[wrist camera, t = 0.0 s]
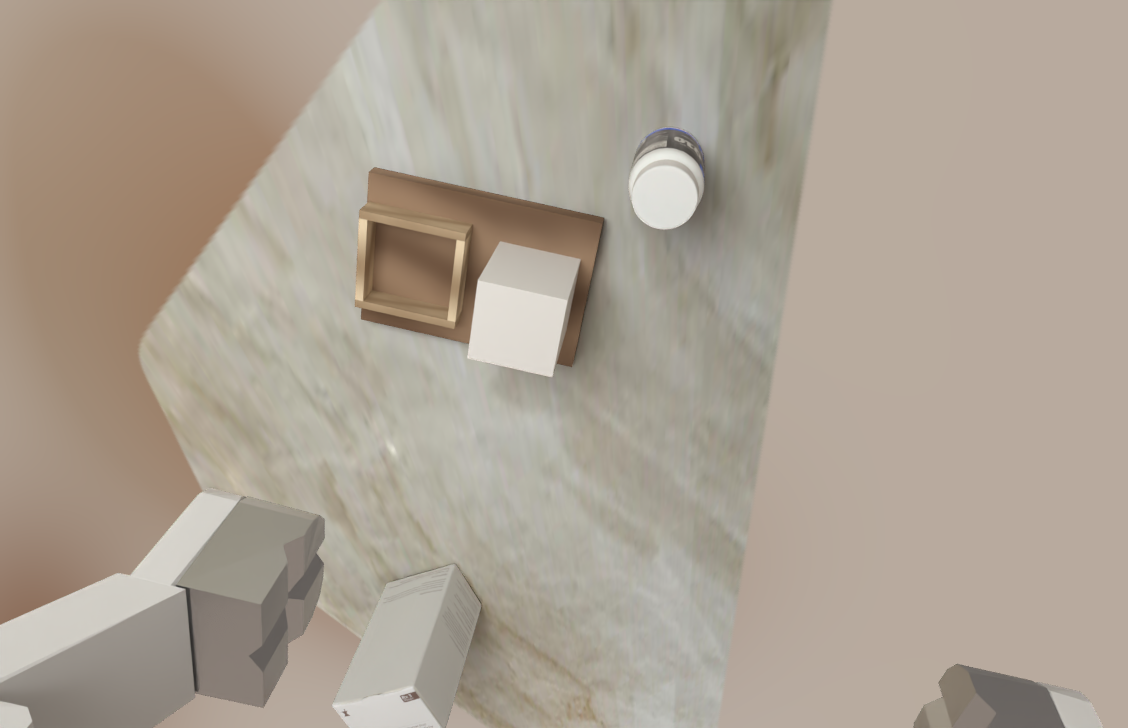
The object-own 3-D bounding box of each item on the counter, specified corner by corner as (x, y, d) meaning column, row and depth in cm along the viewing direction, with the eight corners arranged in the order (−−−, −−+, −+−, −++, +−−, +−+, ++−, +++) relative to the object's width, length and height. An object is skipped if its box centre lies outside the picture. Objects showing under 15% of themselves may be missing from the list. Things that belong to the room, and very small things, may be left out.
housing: (500, 241, 59) (477, 280, 53) (580, 259, 59) (567, 300, 53) (489, 313, 62) (467, 358, 56) (566, 330, 62) (552, 377, 56)
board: (374, 167, 59) (348, 189, 54) (604, 217, 58) (596, 244, 54) (366, 312, 65) (342, 343, 60) (573, 359, 64) (564, 393, 60)
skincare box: (415, 620, 82) (363, 754, 69) (384, 578, 79) (325, 708, 67) (487, 603, 79) (447, 738, 66) (458, 558, 77) (410, 690, 64)
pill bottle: (716, 170, 55) (720, 211, 48) (657, 206, 57) (652, 250, 50) (680, 111, 54) (678, 143, 46) (620, 150, 56) (609, 187, 48)
